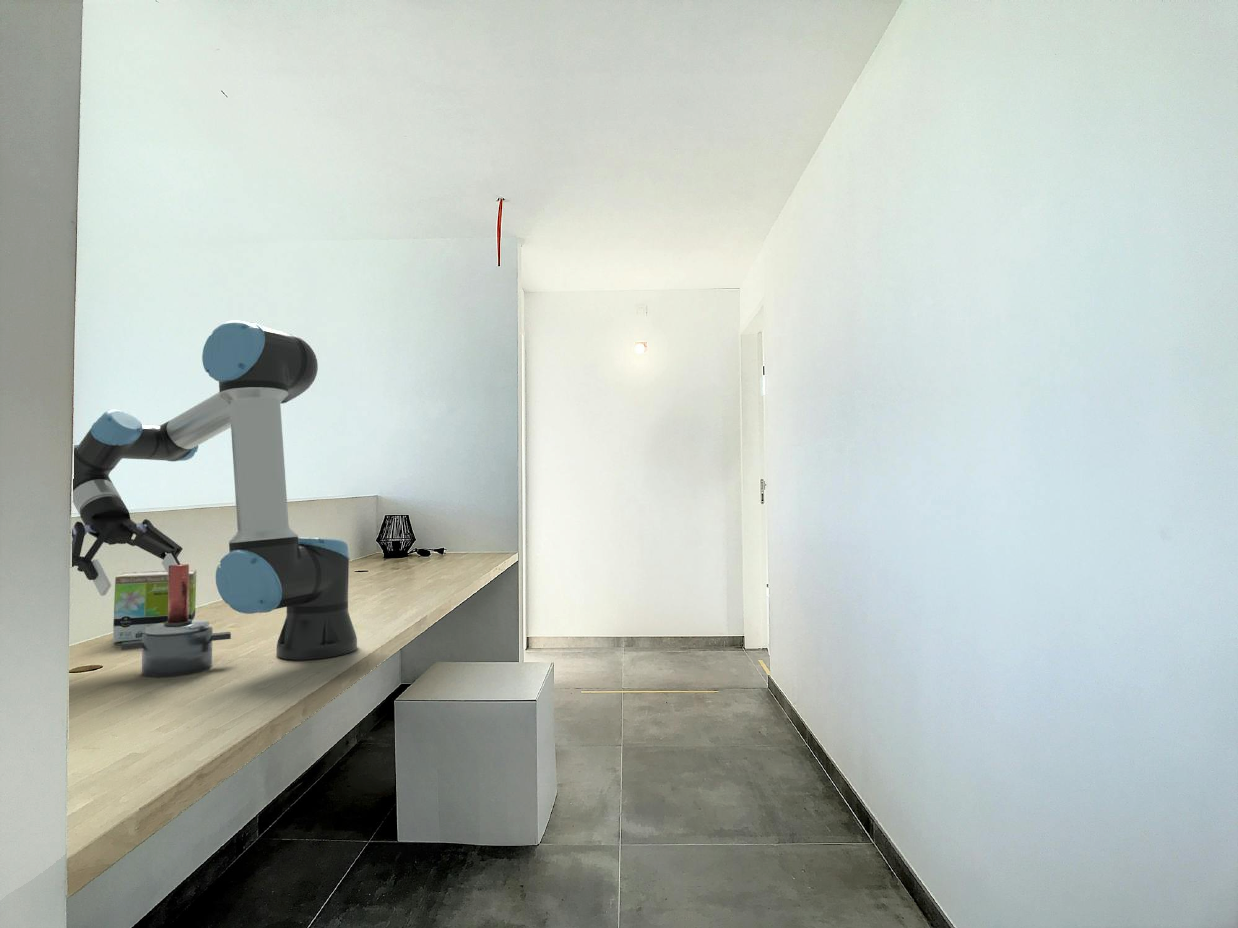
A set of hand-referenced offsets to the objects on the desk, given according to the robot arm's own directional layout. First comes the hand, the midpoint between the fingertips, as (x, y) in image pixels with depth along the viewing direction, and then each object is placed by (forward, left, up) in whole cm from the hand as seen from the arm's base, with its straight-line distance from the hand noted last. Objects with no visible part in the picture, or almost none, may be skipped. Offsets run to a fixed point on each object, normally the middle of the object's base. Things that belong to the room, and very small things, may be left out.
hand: (144, 586), depth 135 cm
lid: (-10, +4, -8) cm, 13 cm away
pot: (-10, +4, -15) cm, 18 cm away
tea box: (+17, -25, -15) cm, 34 cm away
